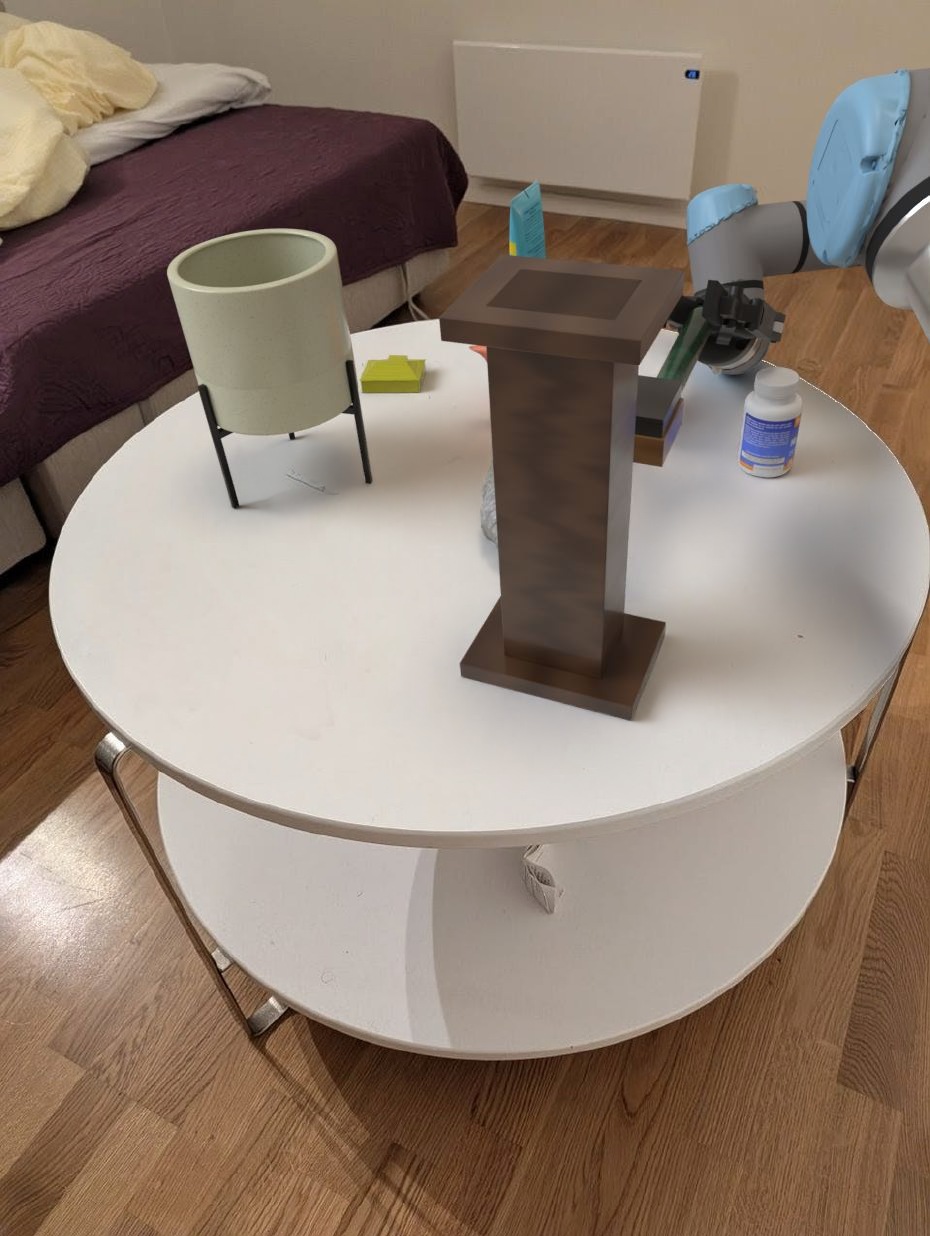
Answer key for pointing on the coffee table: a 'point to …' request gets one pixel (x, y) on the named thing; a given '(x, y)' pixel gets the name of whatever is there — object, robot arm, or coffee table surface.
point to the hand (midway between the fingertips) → (683, 295)
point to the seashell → (489, 508)
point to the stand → (564, 472)
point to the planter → (267, 335)
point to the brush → (667, 393)
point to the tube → (527, 224)
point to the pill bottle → (770, 423)
